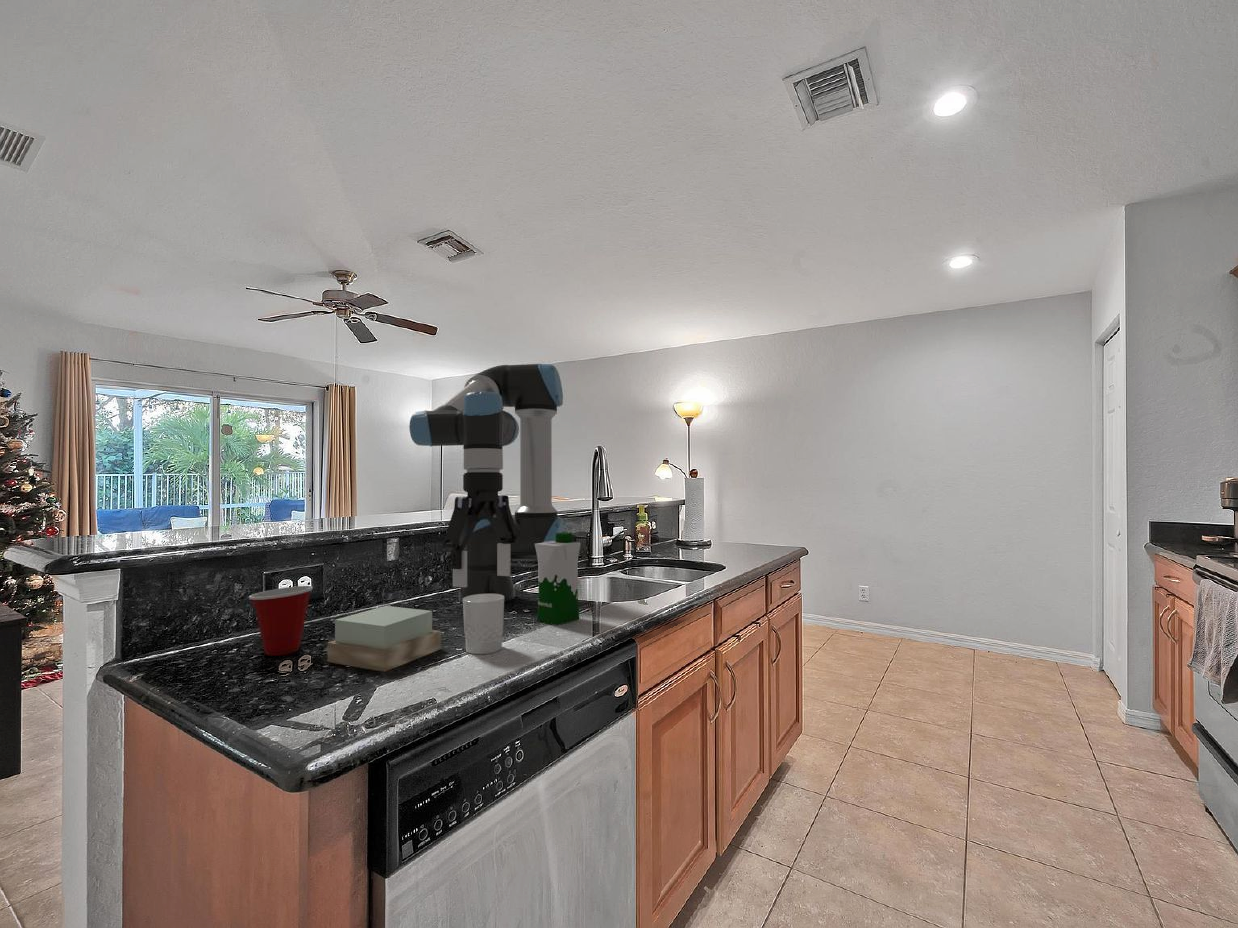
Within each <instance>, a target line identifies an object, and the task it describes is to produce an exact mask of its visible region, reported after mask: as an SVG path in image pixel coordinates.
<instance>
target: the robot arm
mask: <svg viewBox="0 0 1238 928" xmlns="http://www.w3.org/2000/svg"><path fill="white" fill-rule="evenodd" d="M563 393H564V392H563V387H562V381H561V377H560V373H559V370H558V368H557V367H556V366H555V365H554V364H550V363H548V364H547V363H546V364H545V363H533V364H532V363H531V364H529V363H528V364H527V363H526V364H525V363H524V364H502V365H501V364H500V365H496V366H492V367H490V368H489V367H488V368H487V369H484V370H482V371H480V372H478V373H475V374H474V375H473V376H471V377H470V378H469V379H467V381H466V383H465V385H464V388H462V389H460V390H459V391H458V392H456V393H455V394H454V395H452V396H451V397H450V398H449V399H447V400H446V401H445V402H443V403H442V404H441V405H439V406H438V407H437V408H435V409H434V410H421V411H420V410H419V411H415V412H414V413H413V414H412V415H411V417H410V419H409V426H408V427H409V435H410V438H411V440H412V442H413V443H414V444H415V445H417V446H419V447H420V446H421V447H423V446H425V447H442V446H443V447H444V446H445V447H446V446H447V447H449V446H452V447H453V446H463V447H462V448H463V470H465V471H466V472H464V474H463V475H462V477H463V479H462V480H463V481H462V488H463V489H462V490H463V491H464V492H466V494H467V496H456V497H455V498H454V504H453V505H454V506H453V507H454V508H453V511H452V514H451V518H450V521H449V523H448V527H447V529H446V532H445V536H444V539H443V541H442V546H441V547H442V548H443V549H445V550H446V551H447V552H448V551H450V553H451V554H450V555H451V557H450V559H451V561H450V563H451V565H450V566H451V570H452V587H455V588H460V589H459V590H458V601H459V602H460V603H462V604H463V598H464V597H467V596H470V595H476V594H500V595H503V596H504V603H505V602H510V601H513V600H514V599H515V598H516V589H515V586H514V582H513V580H512V579H513V578H512V576H511V561H538V558H537V553H536V548H535V544H537V543H543V542H550V541H556V533H564V520H563V518H562V517H560V516H558V510H557V509H556V508H555V507H554V506H553V503H552V501H553V499H552V498H553V497H552V492H553V491H552V490H553V489H552V488H553V487H552V485H553V484H552V483H553V481H552V479H553V478H552V477H553V475H552V472H553V470H552V468H553V467H552V461H553V460H552V455H553V454H552V451H553V450H552V446H553V445H552V444H553V442H552V437H553V436H552V432H553V431H552V425H553V424H552V420H553V418H554V417H555V416H556V415H557V414H558V408H559V407H562V405H563V404H564V401H563V400H564V394H563ZM504 407H505V408H507V407H508V408H514V413H515V415H516V416H517V417H518V418H519V420H520V421H519V422H520V425H519V422H518V421H517V419H516V418H515V417H514V416H513V415H512V414H511V413H509V411H506V410H504V409H505V408H504ZM519 432H520V433H519ZM519 435H520V436H519ZM518 436H519V437H520V440H519V442H520V444H519V446H520V451H519V453H520V455H519V456H520V460H519V461H520V462H519V465H520V468H519V470H520V472H519V475H520V477H519V478H520V481H519V486H520V492H519V496H520V499H519V501H520V505H519V507H518V508H516V509H515V511H514V517H513V515H512V512H511V511H512V510H511V509H510V500H509V498H510V497H509V495H499V492H502V490H503V489H504V488H503V487H504V485H503V484H504V481H503V480H504V477H503V475H504V474H503V473H502V472H501V470H503V469H504V457H503V456H504V454H503V453H504V450H503V447H505V446H509V445H511V444H513V443H514V442H515V441H516V439H518Z"/></svg>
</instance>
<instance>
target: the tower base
mask: <svg viewBox="0 0 1238 928" xmlns="http://www.w3.org/2000/svg"><path fill="white" fill-rule="evenodd" d="M441 637H442V630H434V629H432V632H430V633H427V634H424V635H422V636H419V637H416V638H413V639H411V640H408V641H405V642H402V643H400V644H397V645H394V646H391V647H389V648H386V649H380V648H373V647H367V646H360V645H354V644H347V643H341V642H335V639H334V640H331V641H328V642H327V648H326V649H327V651H326V652H327V663H331V664H336V665H344V666H349V667H354V668H360V669H361V668H362V669H366V670H372V671H378V672H384V673H385V672H388V671H390V670H392V669H395V668H397V667H399V666H402V665H405V664H407V663H410V662H412V661H415V660H417V659H420V658H422V657H425V656H427V655H430V654H432V653H434V652H436V651H439V650H441V649H442V638H441Z"/></svg>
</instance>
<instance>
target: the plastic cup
mask: <svg viewBox="0 0 1238 928" xmlns="http://www.w3.org/2000/svg"><path fill="white" fill-rule="evenodd" d="M312 590H313V586H312V585H298V586H289V587H288V586H287V587H281V588H275V589H270V590H264V591H260V592H257V593H253V594H251V595H249V596H248V599H249V600H250V601H251V603H252V605H253V608H254V611H255V612H256V614H255V615H256V619H257V622H258V623H257V624H258V628H259V635H260V638H261V641H262V646H263V651H264V653H265V655H267V656H274V657H275V656H285V655H290V654H294V653H296V652H297V651H299V649H300V646H301V642H302V638H303V637H302V636H303V632H304V627H305V622H306V615H307V610H308V604H309V599H310V595H311V592H312Z"/></svg>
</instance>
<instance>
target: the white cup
mask: <svg viewBox="0 0 1238 928" xmlns="http://www.w3.org/2000/svg"><path fill="white" fill-rule="evenodd" d="M504 611H505V602H504V596H503V595H500V594H476V595H470V596H467V597H464V598H463V603H462V613H463V628H464V629H463V630H464V631H463V632H464V638H465V640H464V641H465V652H467V653H468V654H471V655H488V654H493V653H497V652H498V651H500V650H501V649H502V647H503V645H502V644H503V634H504V633H503V632H504V620H505V619H504V617H505V616H504V615H505V612H504Z"/></svg>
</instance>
